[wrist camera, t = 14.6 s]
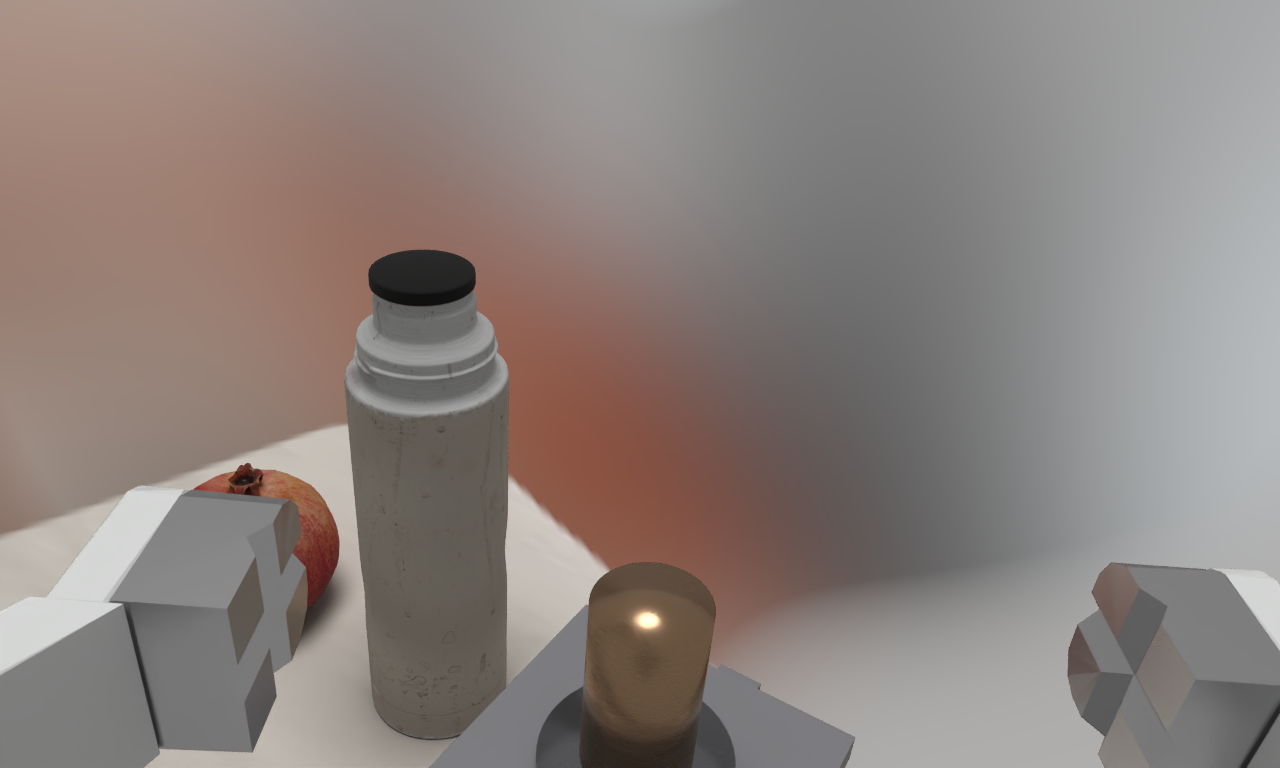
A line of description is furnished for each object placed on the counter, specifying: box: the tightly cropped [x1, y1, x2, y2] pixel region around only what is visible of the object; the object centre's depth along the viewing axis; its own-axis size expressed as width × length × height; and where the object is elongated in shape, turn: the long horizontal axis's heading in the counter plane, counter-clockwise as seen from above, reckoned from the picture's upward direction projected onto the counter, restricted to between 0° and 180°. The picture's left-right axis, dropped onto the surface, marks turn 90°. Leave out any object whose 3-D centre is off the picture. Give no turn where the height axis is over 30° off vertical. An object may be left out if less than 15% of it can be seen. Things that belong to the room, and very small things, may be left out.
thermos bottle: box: [344, 250, 509, 739], centre depth 53 cm, size 8×8×28 cm
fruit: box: [193, 463, 339, 608], centre depth 63 cm, size 11×10×10 cm
